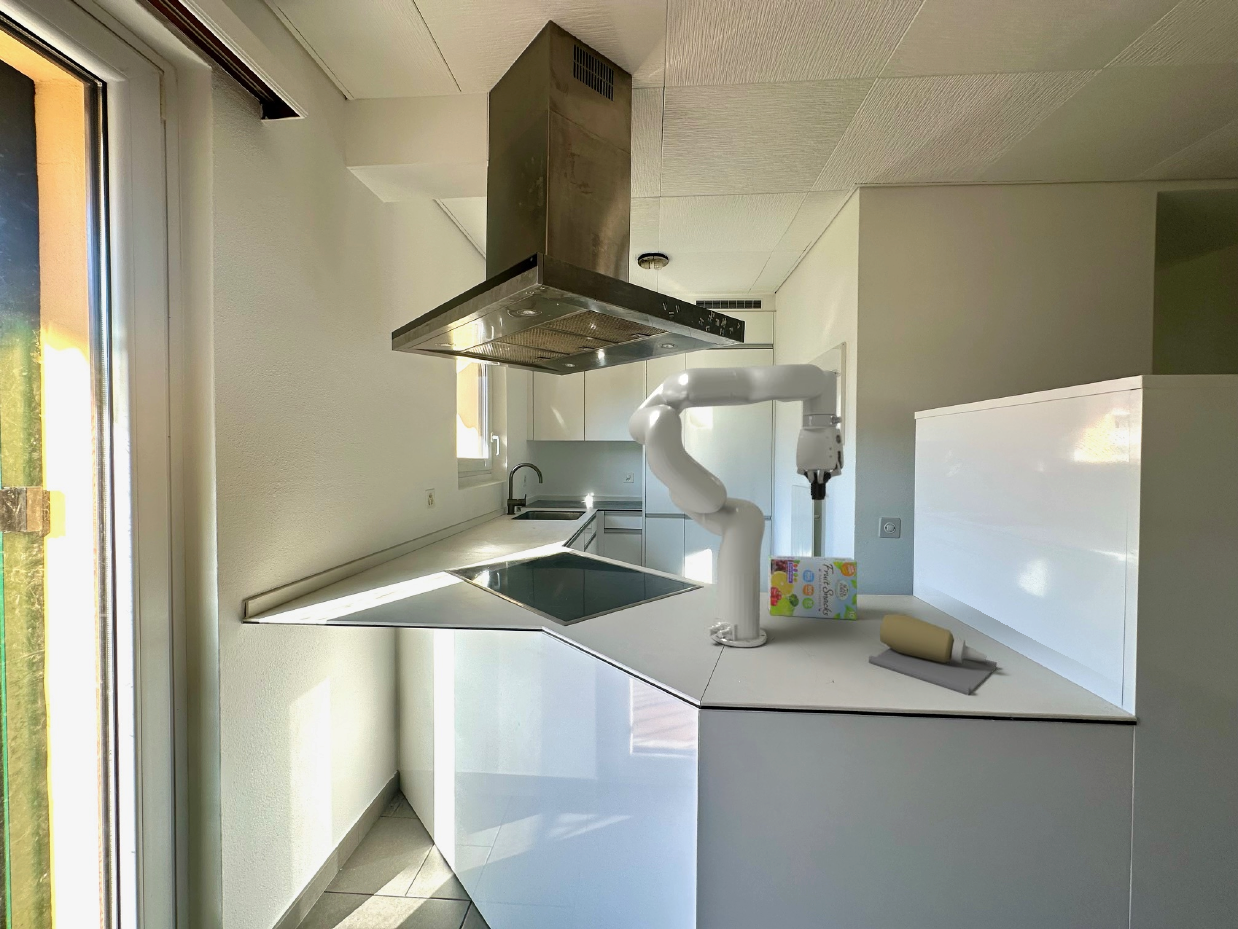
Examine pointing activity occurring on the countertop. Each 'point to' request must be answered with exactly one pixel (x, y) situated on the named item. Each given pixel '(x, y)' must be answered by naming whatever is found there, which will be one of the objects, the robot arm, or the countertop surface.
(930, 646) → the squeeze bottle
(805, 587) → the snack box
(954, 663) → the mat
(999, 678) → the countertop surface
